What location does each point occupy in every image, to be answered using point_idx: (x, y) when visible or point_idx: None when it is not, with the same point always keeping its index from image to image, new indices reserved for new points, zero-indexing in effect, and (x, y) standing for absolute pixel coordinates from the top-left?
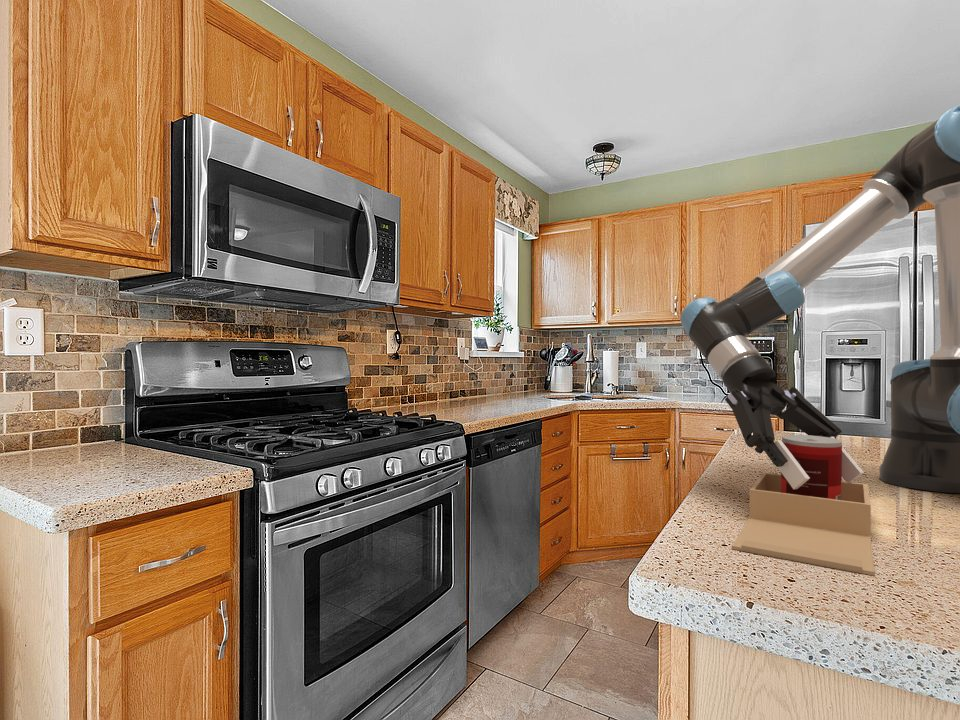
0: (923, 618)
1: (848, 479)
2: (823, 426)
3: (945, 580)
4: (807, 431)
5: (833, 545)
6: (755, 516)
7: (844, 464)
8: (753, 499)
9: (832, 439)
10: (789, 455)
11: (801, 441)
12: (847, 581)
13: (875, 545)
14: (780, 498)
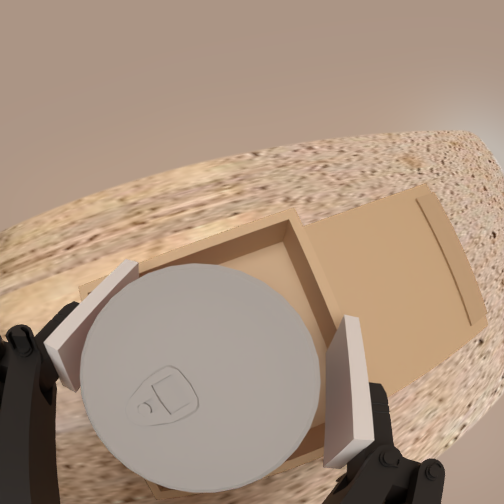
0: (458, 143)
1: None
2: (15, 384)
3: (367, 138)
4: (51, 439)
5: (386, 248)
6: None
7: None
8: None
9: (110, 323)
10: (363, 380)
11: (319, 374)
12: (456, 199)
13: (309, 219)
14: None
